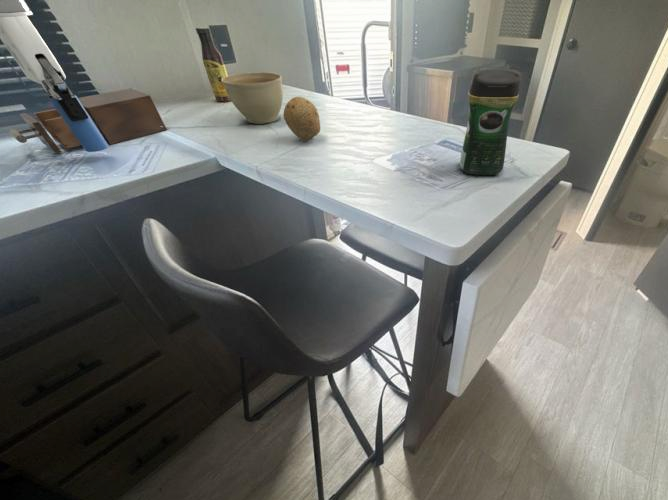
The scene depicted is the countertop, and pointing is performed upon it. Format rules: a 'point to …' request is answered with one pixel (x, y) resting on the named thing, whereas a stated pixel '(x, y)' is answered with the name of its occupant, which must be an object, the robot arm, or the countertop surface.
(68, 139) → the drawer
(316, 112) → the potato
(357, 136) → the countertop surface
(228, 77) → the planter bowl
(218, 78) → the sauce bottle
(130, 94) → the cabinet
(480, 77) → the coffee jar
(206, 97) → the countertop surface
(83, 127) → the bottle
